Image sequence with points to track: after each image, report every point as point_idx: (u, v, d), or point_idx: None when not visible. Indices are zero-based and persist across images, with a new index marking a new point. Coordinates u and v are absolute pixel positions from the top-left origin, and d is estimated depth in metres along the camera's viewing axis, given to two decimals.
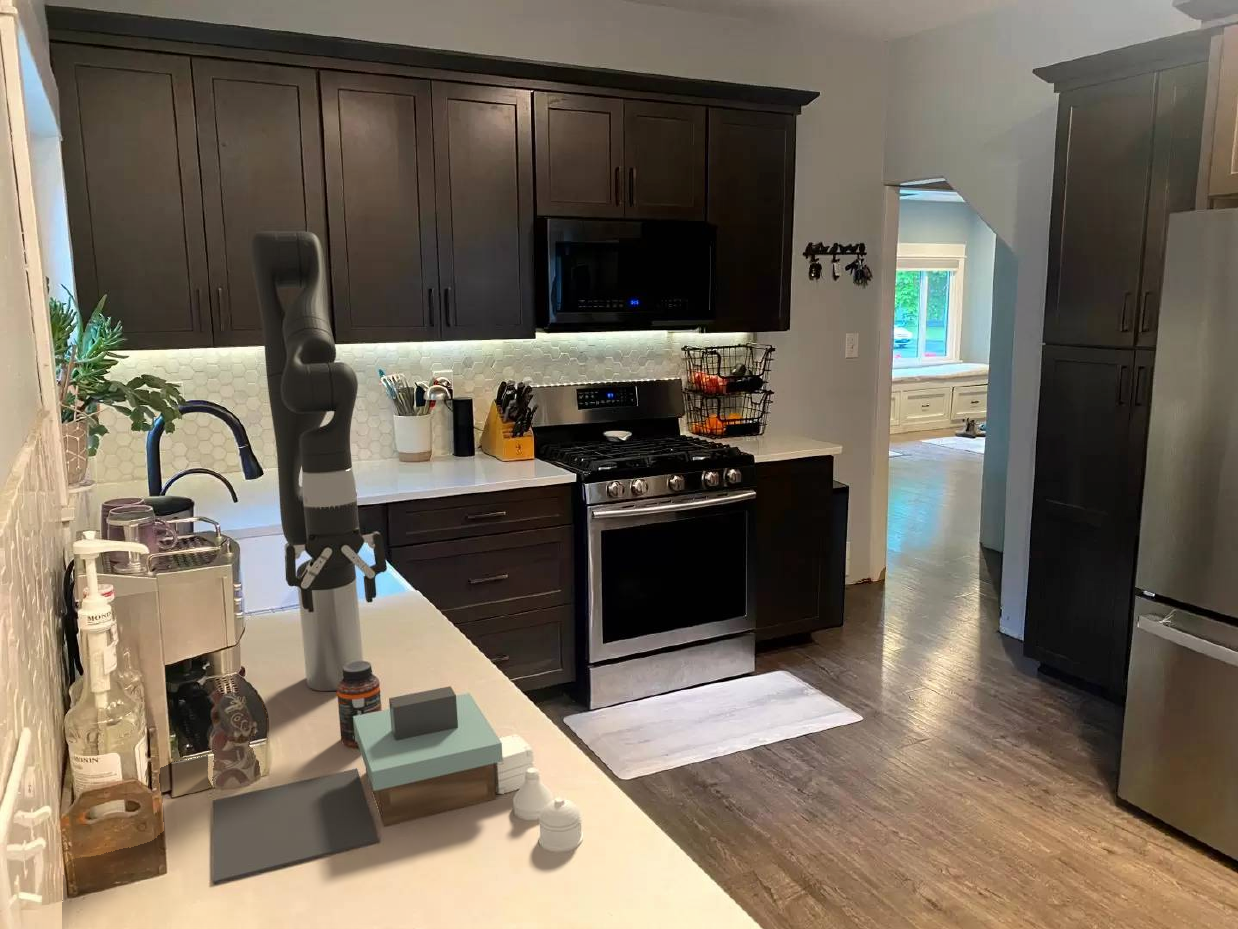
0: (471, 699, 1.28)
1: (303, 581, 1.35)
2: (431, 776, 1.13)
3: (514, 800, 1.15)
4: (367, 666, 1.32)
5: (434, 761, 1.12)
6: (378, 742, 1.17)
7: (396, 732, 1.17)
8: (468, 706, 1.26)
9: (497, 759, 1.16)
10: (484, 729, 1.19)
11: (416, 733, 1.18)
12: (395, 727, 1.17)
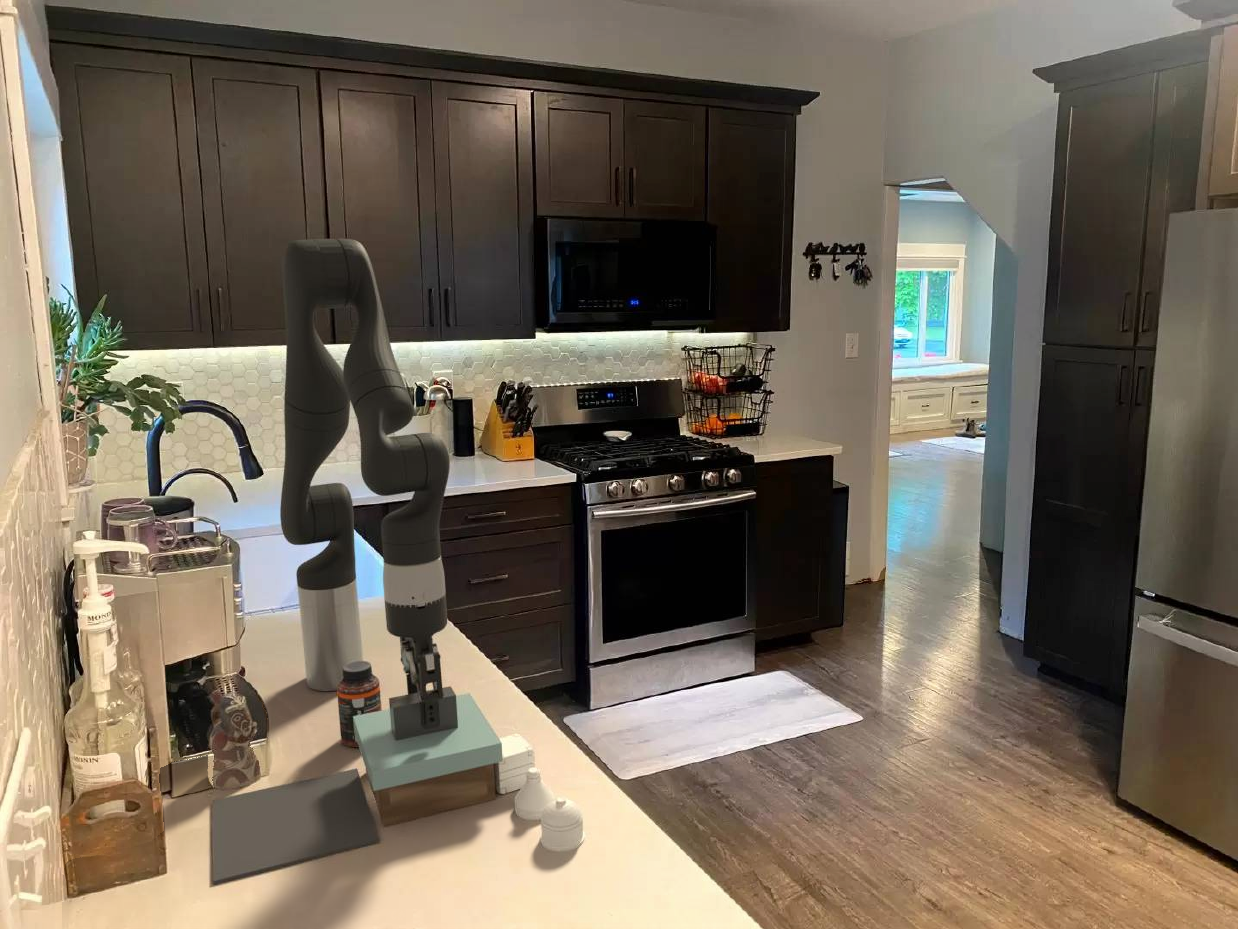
0: (471, 699, 1.28)
1: None
2: (431, 776, 1.13)
3: (515, 800, 1.15)
4: (367, 666, 1.32)
5: (434, 761, 1.12)
6: (378, 742, 1.17)
7: (396, 732, 1.17)
8: (468, 706, 1.26)
9: (497, 759, 1.16)
10: (484, 729, 1.19)
11: (416, 733, 1.18)
12: (395, 727, 1.17)
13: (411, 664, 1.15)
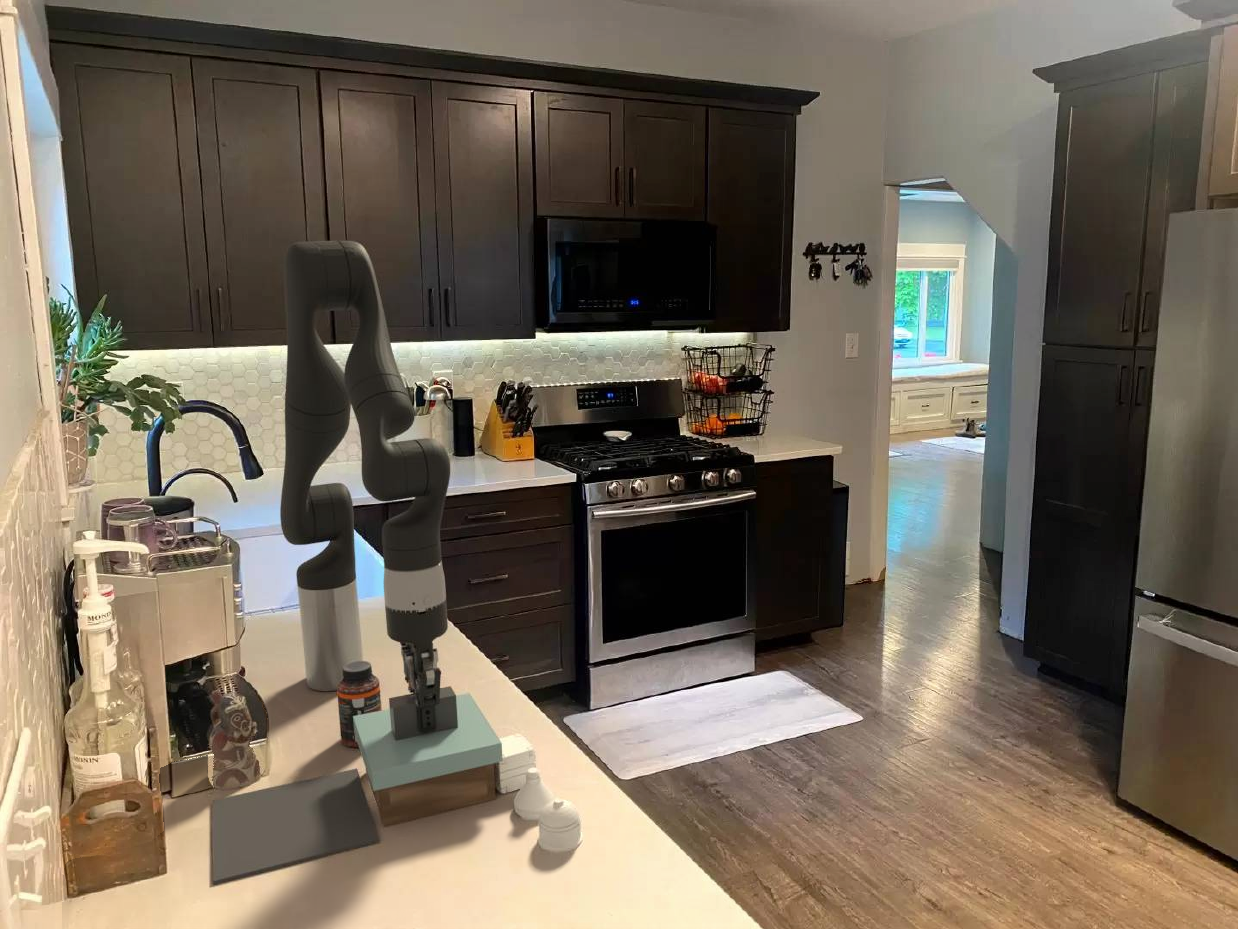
0: (471, 699, 1.28)
1: None
2: (431, 776, 1.13)
3: (515, 800, 1.15)
4: (367, 666, 1.32)
5: (434, 761, 1.12)
6: (378, 742, 1.17)
7: (396, 732, 1.17)
8: (468, 706, 1.26)
9: (497, 759, 1.16)
10: (484, 729, 1.19)
11: (416, 733, 1.18)
12: (395, 727, 1.17)
13: (411, 672, 1.15)
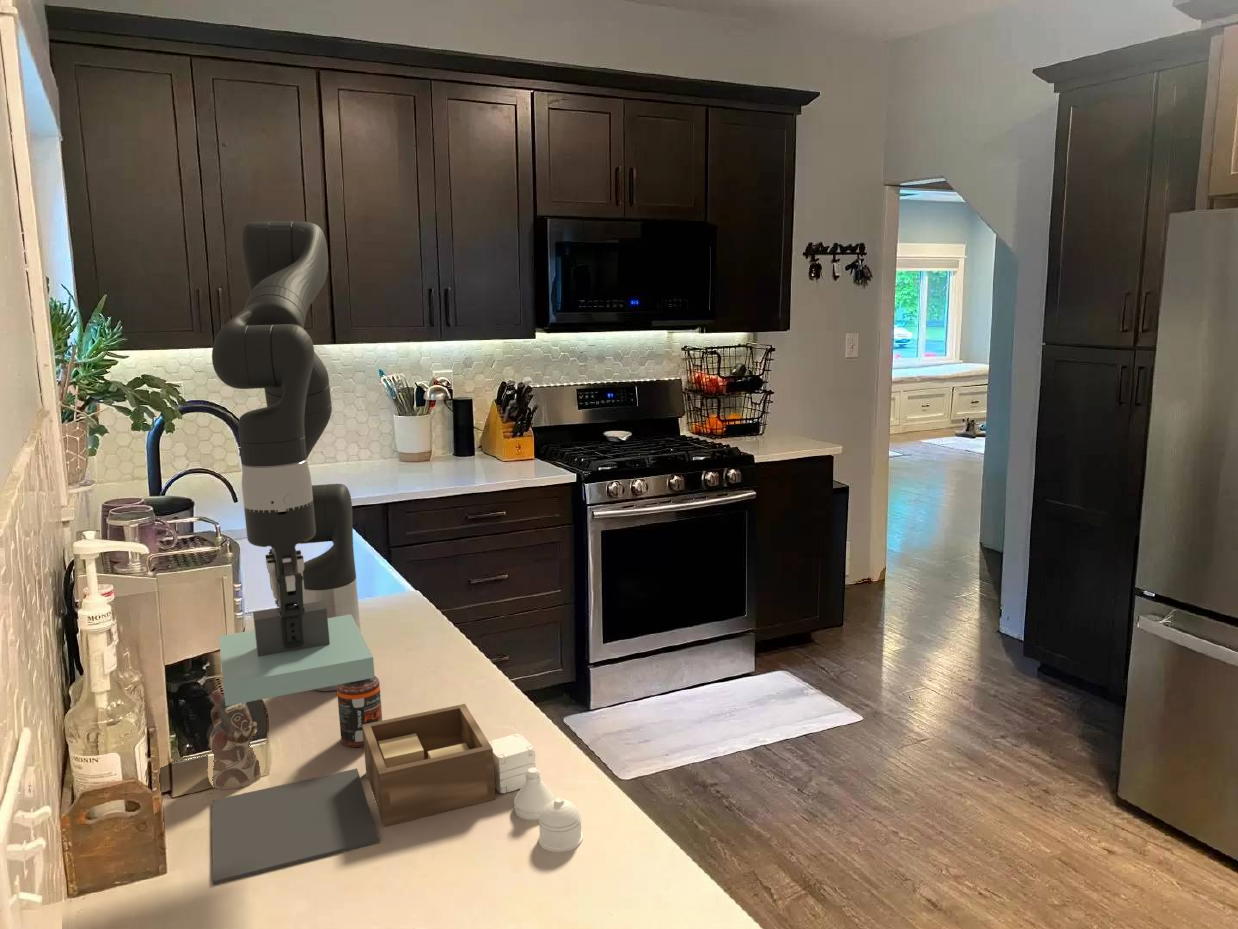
0: (351, 619, 1.18)
1: None
2: (292, 691, 1.03)
3: (515, 800, 1.15)
4: None
5: (295, 675, 1.03)
6: (239, 658, 1.07)
7: (259, 647, 1.07)
8: (346, 625, 1.16)
9: (368, 675, 1.06)
10: (357, 645, 1.10)
11: (281, 649, 1.08)
12: (257, 641, 1.07)
13: (273, 580, 1.06)
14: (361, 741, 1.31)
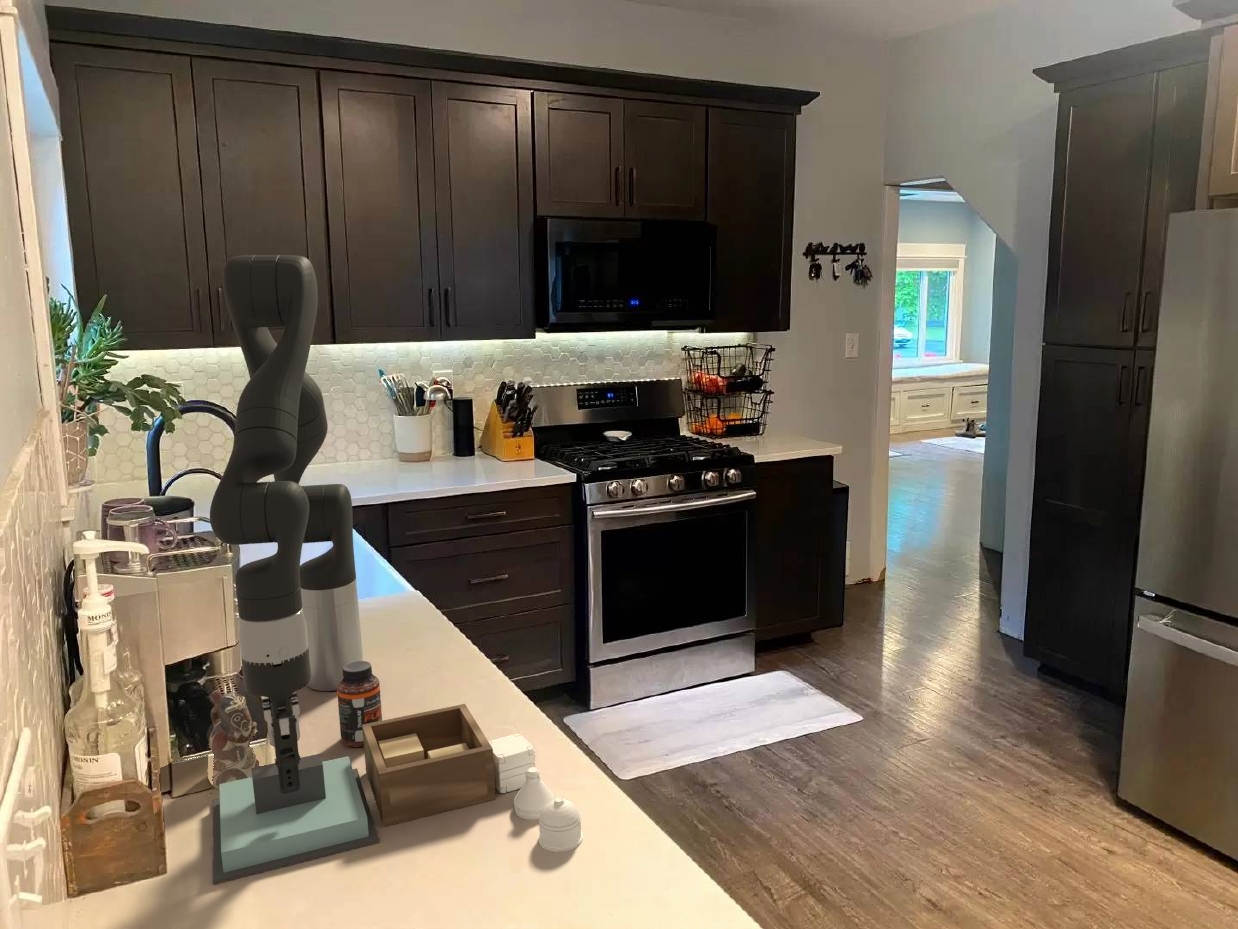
0: (348, 764, 1.22)
1: None
2: (288, 855, 1.06)
3: (515, 799, 1.15)
4: (367, 666, 1.32)
5: (291, 839, 1.06)
6: (238, 816, 1.10)
7: (257, 805, 1.10)
8: (343, 772, 1.19)
9: (362, 834, 1.09)
10: (353, 800, 1.13)
11: (279, 806, 1.11)
12: (255, 800, 1.10)
13: (269, 725, 1.08)
14: (361, 741, 1.31)
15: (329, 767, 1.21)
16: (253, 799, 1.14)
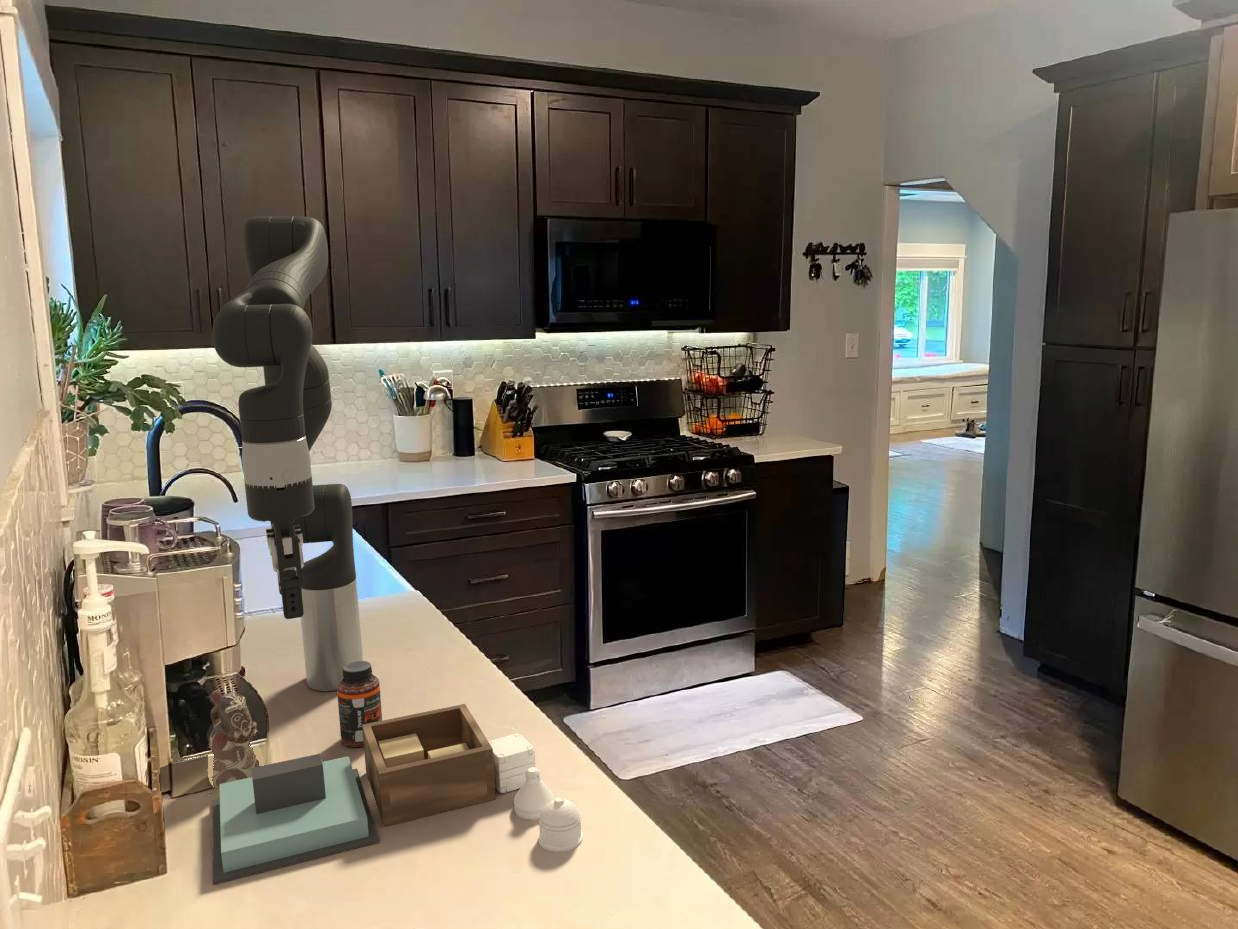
0: (348, 764, 1.22)
1: None
2: (288, 855, 1.06)
3: (515, 799, 1.15)
4: (367, 666, 1.32)
5: (291, 839, 1.06)
6: (238, 816, 1.10)
7: (257, 805, 1.10)
8: (343, 772, 1.19)
9: (362, 834, 1.09)
10: (353, 800, 1.13)
11: (279, 806, 1.11)
12: (255, 800, 1.10)
13: (272, 550, 1.08)
14: (361, 741, 1.31)
15: (329, 767, 1.21)
16: (253, 799, 1.14)
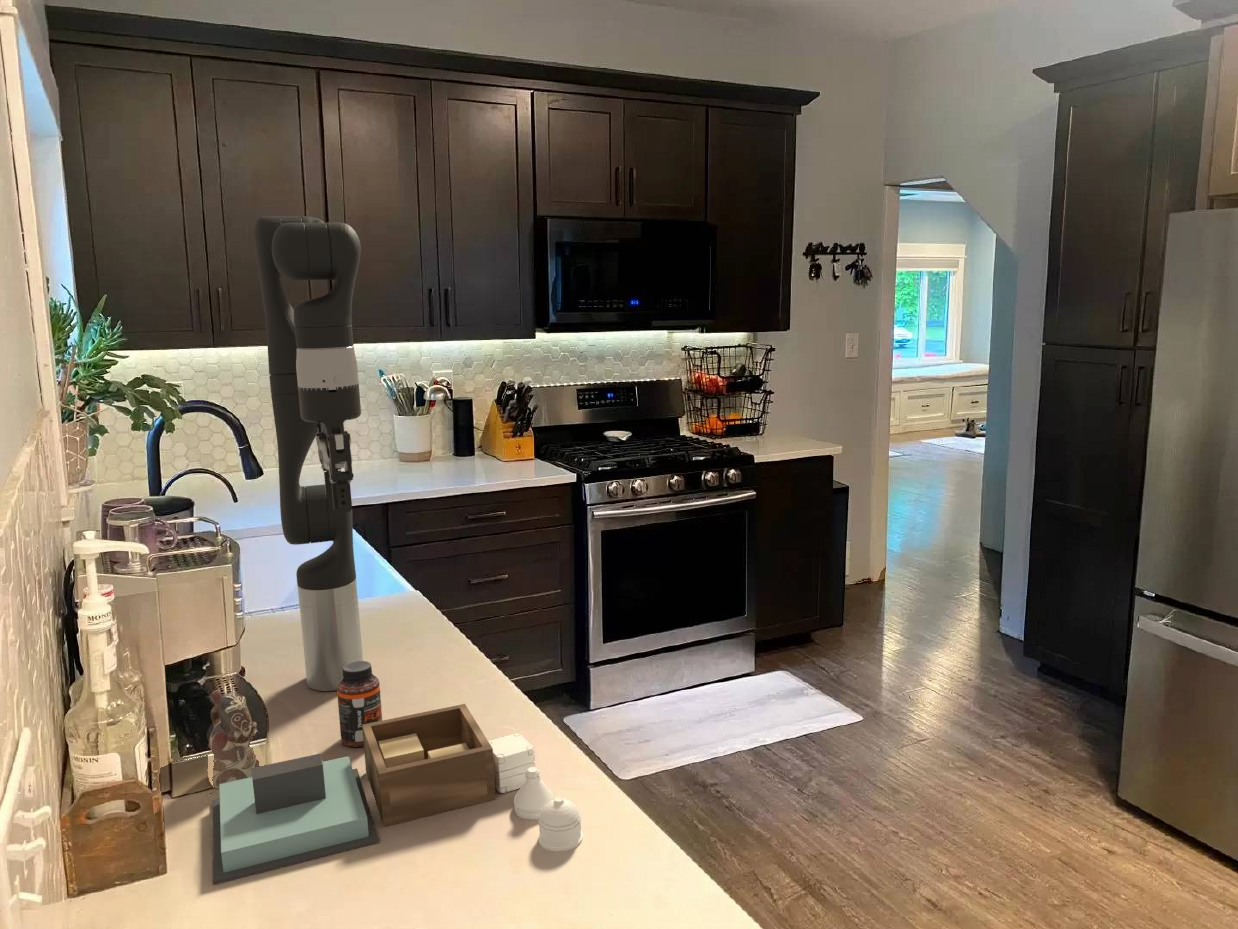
0: (348, 764, 1.22)
1: None
2: (288, 855, 1.06)
3: (515, 799, 1.15)
4: (367, 666, 1.32)
5: (291, 839, 1.06)
6: (238, 816, 1.10)
7: (257, 805, 1.10)
8: (343, 772, 1.19)
9: (362, 834, 1.09)
10: (353, 800, 1.13)
11: (279, 806, 1.11)
12: (255, 800, 1.10)
13: (323, 449, 1.18)
14: (361, 741, 1.31)
15: (329, 767, 1.21)
16: (253, 799, 1.14)
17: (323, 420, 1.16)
